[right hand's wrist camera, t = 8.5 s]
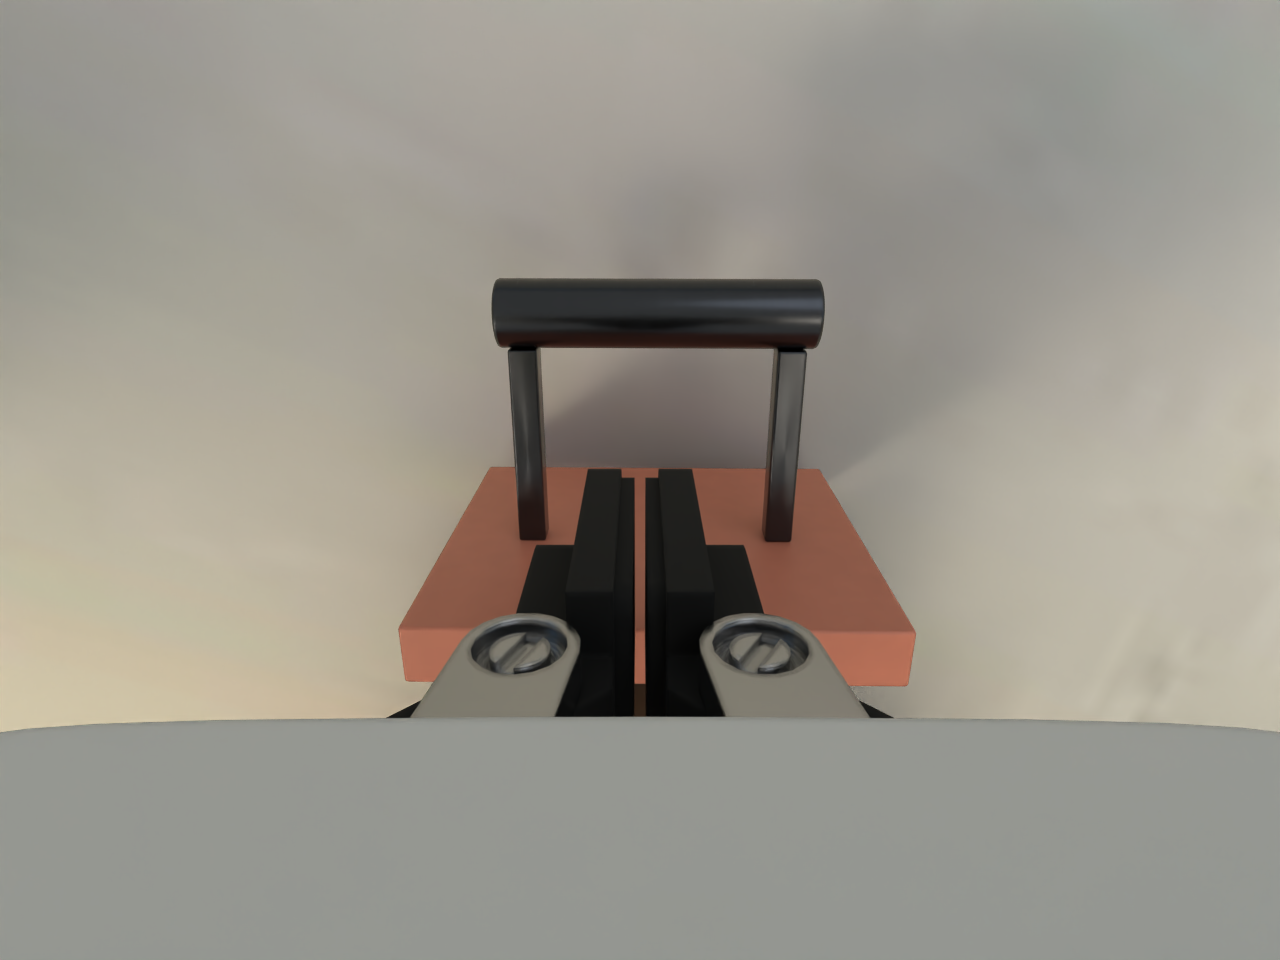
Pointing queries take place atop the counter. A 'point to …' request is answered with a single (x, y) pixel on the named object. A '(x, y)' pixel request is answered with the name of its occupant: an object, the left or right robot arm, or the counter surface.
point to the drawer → (728, 498)
